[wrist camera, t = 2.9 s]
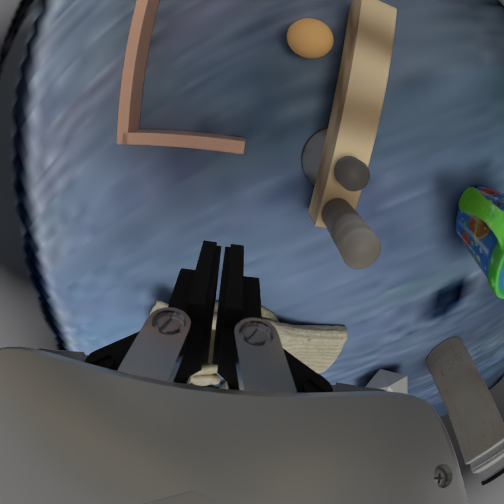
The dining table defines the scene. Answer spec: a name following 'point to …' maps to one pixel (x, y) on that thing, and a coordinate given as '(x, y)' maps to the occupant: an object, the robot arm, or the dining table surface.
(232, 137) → the open frame
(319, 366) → the pair of gloves
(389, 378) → the die
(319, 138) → the pivot base
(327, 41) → the ball
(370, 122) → the lever
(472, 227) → the snack cup
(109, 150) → the dining table surface
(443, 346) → the thermos bottle
